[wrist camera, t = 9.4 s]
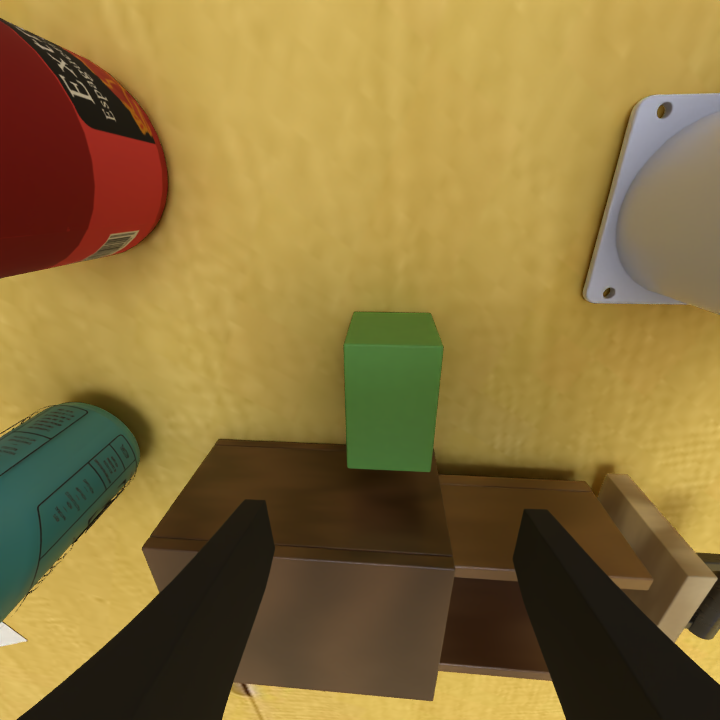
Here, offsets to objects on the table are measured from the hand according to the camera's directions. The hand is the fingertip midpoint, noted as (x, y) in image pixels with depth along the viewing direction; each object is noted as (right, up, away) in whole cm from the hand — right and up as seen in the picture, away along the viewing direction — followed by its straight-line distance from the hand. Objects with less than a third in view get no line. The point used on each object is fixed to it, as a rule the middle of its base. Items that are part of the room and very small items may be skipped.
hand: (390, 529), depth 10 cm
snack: (+1, +4, +9) cm, 10 cm away
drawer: (+11, -6, +13) cm, 18 cm away
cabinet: (-3, -5, +14) cm, 16 cm away
